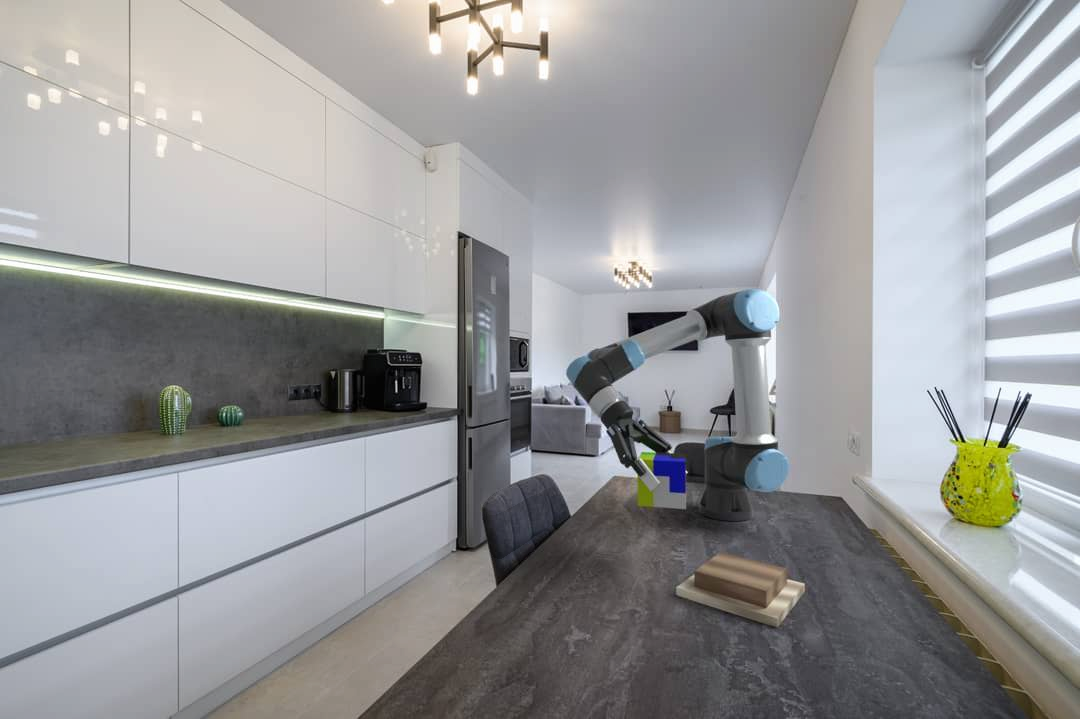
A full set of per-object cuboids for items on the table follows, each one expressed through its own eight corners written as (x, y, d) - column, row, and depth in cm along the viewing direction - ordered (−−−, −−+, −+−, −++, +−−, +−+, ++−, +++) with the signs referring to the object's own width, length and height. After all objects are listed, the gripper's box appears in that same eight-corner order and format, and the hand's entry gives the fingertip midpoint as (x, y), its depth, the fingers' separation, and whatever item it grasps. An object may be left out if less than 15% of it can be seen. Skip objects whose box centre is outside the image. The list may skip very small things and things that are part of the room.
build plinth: (713, 567, 108) (713, 546, 108) (804, 591, 96) (804, 568, 96) (676, 595, 95) (676, 571, 95) (777, 627, 83) (777, 600, 83)
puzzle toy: (685, 509, 105) (685, 461, 105) (637, 505, 108) (637, 459, 108) (686, 497, 114) (685, 453, 115) (642, 494, 117) (641, 452, 118)
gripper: (629, 416, 131) (683, 481, 121) (571, 424, 112) (630, 502, 102) (646, 396, 128) (704, 462, 118) (591, 401, 109) (653, 480, 99)
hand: (670, 481), depth 110 cm, fingers closed on puzzle toy, 13 cm apart
